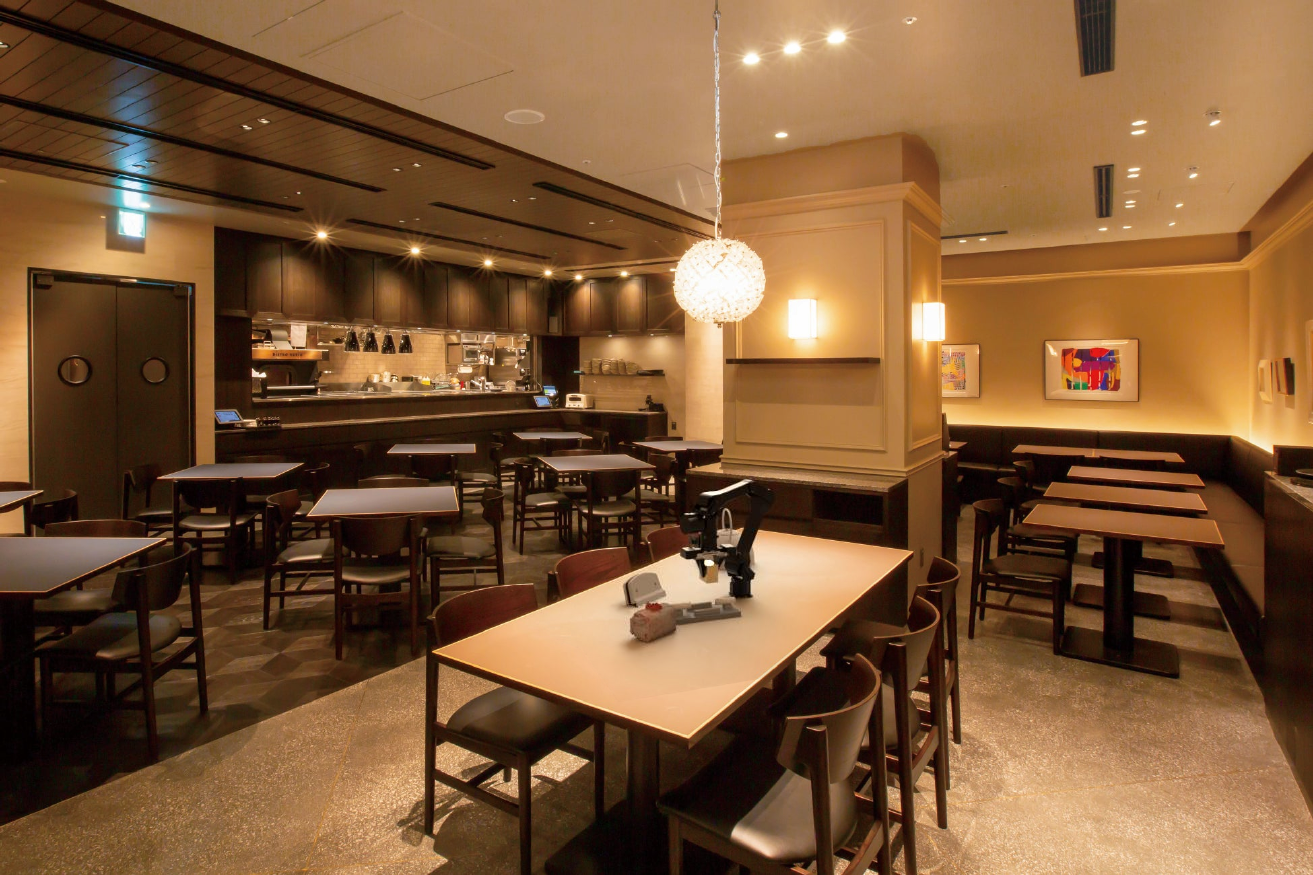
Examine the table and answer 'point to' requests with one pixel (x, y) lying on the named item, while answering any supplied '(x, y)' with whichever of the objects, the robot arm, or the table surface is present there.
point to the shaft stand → (705, 610)
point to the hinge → (643, 589)
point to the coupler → (710, 572)
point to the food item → (653, 621)
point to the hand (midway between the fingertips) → (708, 576)
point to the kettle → (728, 539)
